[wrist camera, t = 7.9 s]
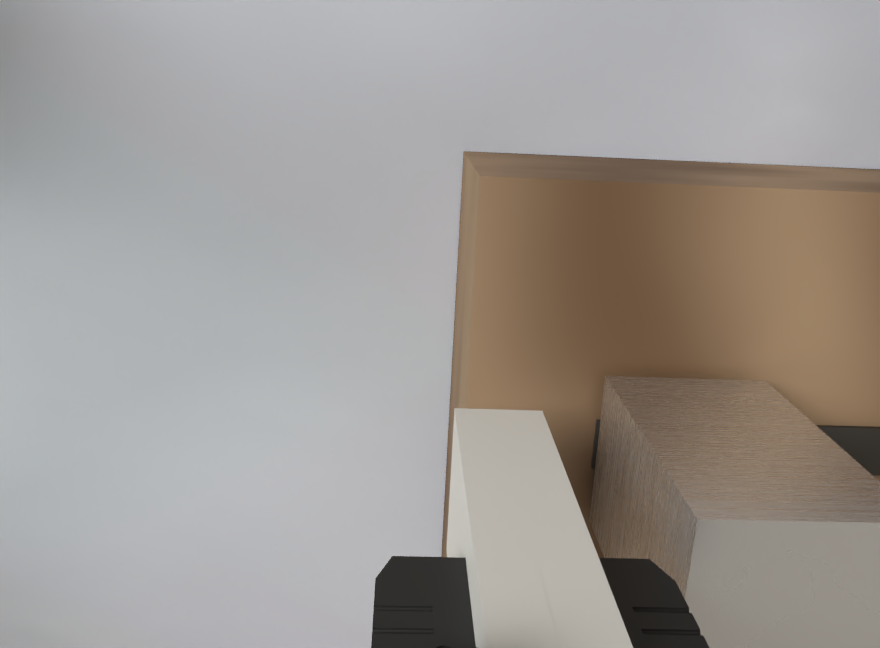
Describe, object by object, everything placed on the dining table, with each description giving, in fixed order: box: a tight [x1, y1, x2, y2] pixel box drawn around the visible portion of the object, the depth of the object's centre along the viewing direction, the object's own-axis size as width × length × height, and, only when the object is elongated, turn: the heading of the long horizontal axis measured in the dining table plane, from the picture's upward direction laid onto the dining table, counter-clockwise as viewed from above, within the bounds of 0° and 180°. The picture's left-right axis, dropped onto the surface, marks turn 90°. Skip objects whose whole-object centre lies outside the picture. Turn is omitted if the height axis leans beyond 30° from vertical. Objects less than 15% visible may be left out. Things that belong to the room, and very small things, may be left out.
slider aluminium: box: [589, 376, 880, 648], centre depth 13 cm, size 3×3×5 cm
